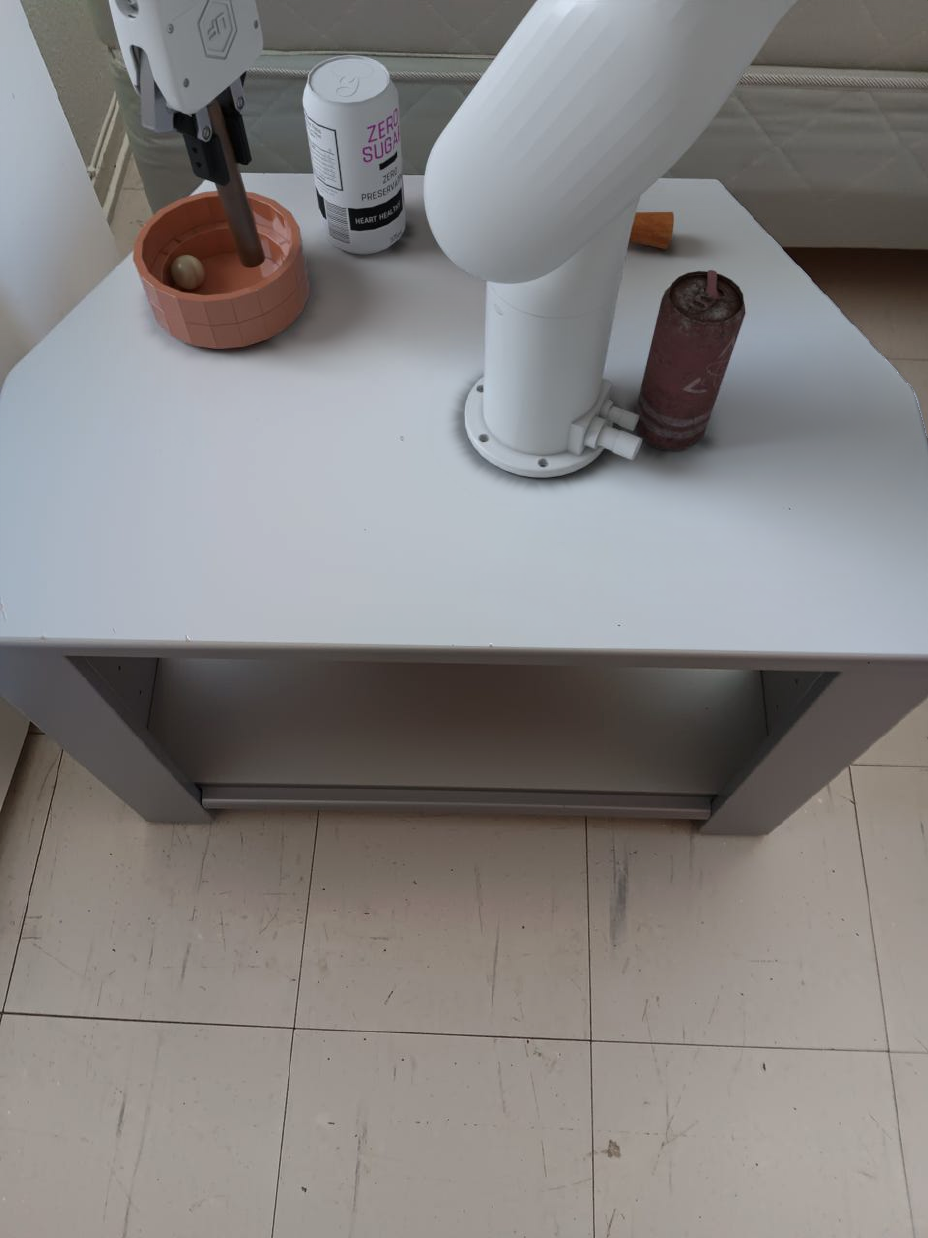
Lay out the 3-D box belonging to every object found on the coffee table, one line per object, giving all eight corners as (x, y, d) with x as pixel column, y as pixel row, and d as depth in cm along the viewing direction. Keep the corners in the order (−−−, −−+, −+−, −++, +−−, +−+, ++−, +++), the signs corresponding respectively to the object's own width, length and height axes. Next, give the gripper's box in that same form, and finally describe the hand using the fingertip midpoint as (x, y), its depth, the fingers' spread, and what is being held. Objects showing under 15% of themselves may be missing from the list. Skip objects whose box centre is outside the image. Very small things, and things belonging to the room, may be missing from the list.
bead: (214, 285, 85) (187, 288, 83) (196, 289, 87) (169, 293, 85) (206, 251, 84) (178, 253, 82) (188, 256, 86) (161, 258, 84)
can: (703, 399, 80) (746, 266, 68) (705, 456, 77) (751, 327, 64) (633, 394, 80) (663, 261, 68) (632, 450, 77) (664, 321, 65)
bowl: (339, 275, 88) (331, 221, 82) (251, 374, 81) (236, 322, 76) (214, 227, 91) (199, 171, 86) (120, 319, 85) (98, 265, 79)
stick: (270, 254, 80) (223, 93, 69) (256, 270, 79) (206, 109, 68) (249, 249, 81) (199, 88, 69) (235, 264, 80) (182, 104, 68)
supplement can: (333, 199, 93) (313, 46, 80) (413, 209, 92) (405, 56, 79) (313, 252, 89) (288, 100, 76) (396, 262, 88) (385, 111, 75)
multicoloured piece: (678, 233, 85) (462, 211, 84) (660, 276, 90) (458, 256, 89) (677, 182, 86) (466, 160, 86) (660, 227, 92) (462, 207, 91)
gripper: (119, -31, 53) (201, 242, 69) (276, -143, 60) (317, 128, 76) (20, -61, 55) (122, 212, 71) (183, -166, 62) (243, 104, 78)
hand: (223, 167), depth 73 cm, fingers closed on stick, 2 cm apart
